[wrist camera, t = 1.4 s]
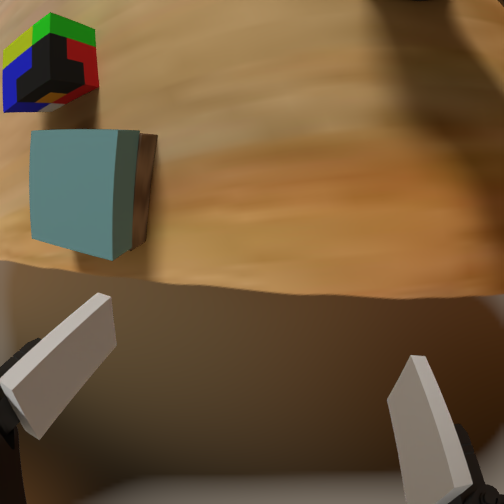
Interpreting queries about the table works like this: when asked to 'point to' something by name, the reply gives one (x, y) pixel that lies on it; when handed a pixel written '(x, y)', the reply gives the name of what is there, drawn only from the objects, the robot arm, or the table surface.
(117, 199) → the top block
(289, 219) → the table surface
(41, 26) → the puzzle toy
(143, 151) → the base block
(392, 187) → the table surface
